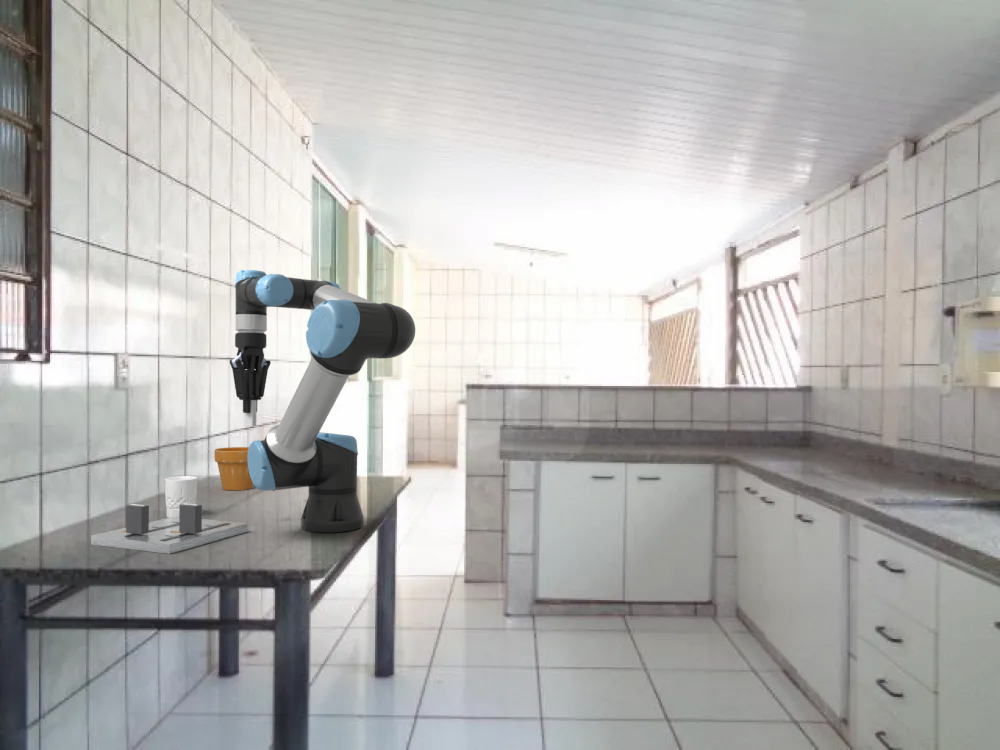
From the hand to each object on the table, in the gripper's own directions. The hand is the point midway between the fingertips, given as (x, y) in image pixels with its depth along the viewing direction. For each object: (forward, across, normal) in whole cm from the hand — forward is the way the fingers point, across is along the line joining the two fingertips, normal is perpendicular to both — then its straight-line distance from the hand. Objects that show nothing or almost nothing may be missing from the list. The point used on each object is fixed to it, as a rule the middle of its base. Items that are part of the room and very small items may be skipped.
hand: (249, 425), depth 187 cm
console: (+24, +21, -4) cm, 32 cm away
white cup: (+25, 0, -22) cm, 33 cm away
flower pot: (+25, -44, -41) cm, 65 cm away
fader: (+22, +23, +3) cm, 32 cm away
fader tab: (+22, +28, -7) cm, 36 cm away
